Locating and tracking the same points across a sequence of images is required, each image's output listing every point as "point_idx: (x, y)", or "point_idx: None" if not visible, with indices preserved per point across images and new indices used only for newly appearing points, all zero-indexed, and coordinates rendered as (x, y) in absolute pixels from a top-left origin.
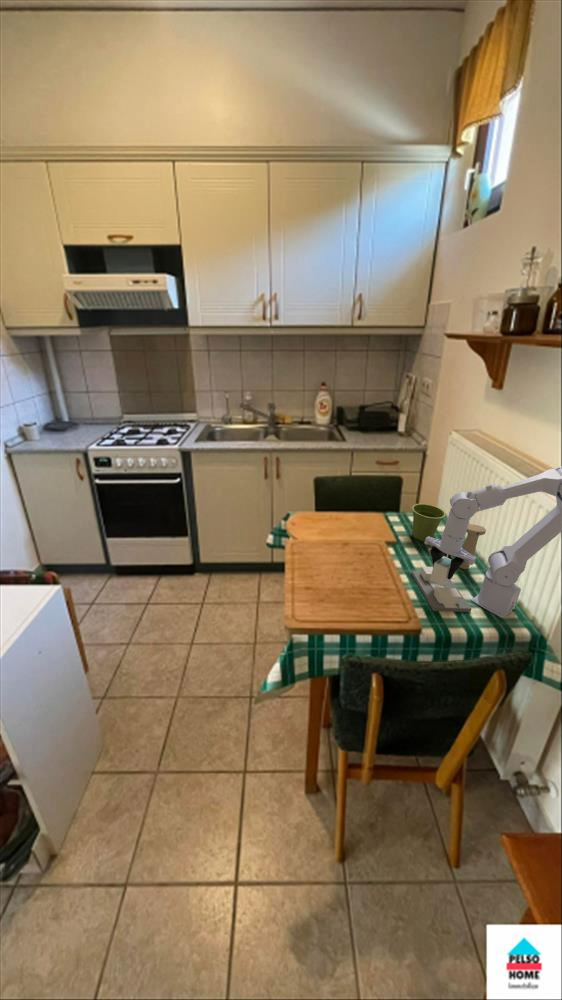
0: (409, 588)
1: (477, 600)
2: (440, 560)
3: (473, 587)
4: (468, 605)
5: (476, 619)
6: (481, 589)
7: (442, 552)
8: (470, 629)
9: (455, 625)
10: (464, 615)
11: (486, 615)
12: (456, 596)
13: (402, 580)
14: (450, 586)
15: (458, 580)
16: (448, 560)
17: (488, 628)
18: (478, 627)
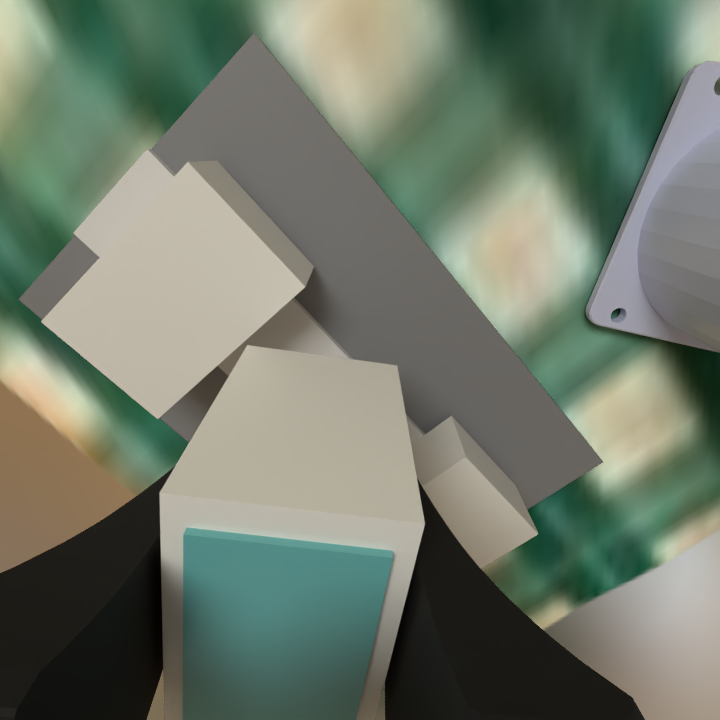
0: (155, 477)
1: (637, 297)
2: (193, 666)
3: (582, 44)
4: (577, 441)
5: (632, 488)
6: (717, 319)
7: (92, 693)
8: (602, 586)
9: (520, 606)
10: (555, 500)
11: (699, 405)
12: (498, 553)
13: (60, 425)
14: (393, 289)
15: (418, 24)
16: (289, 590)
17: (706, 519)
18: (646, 546)
